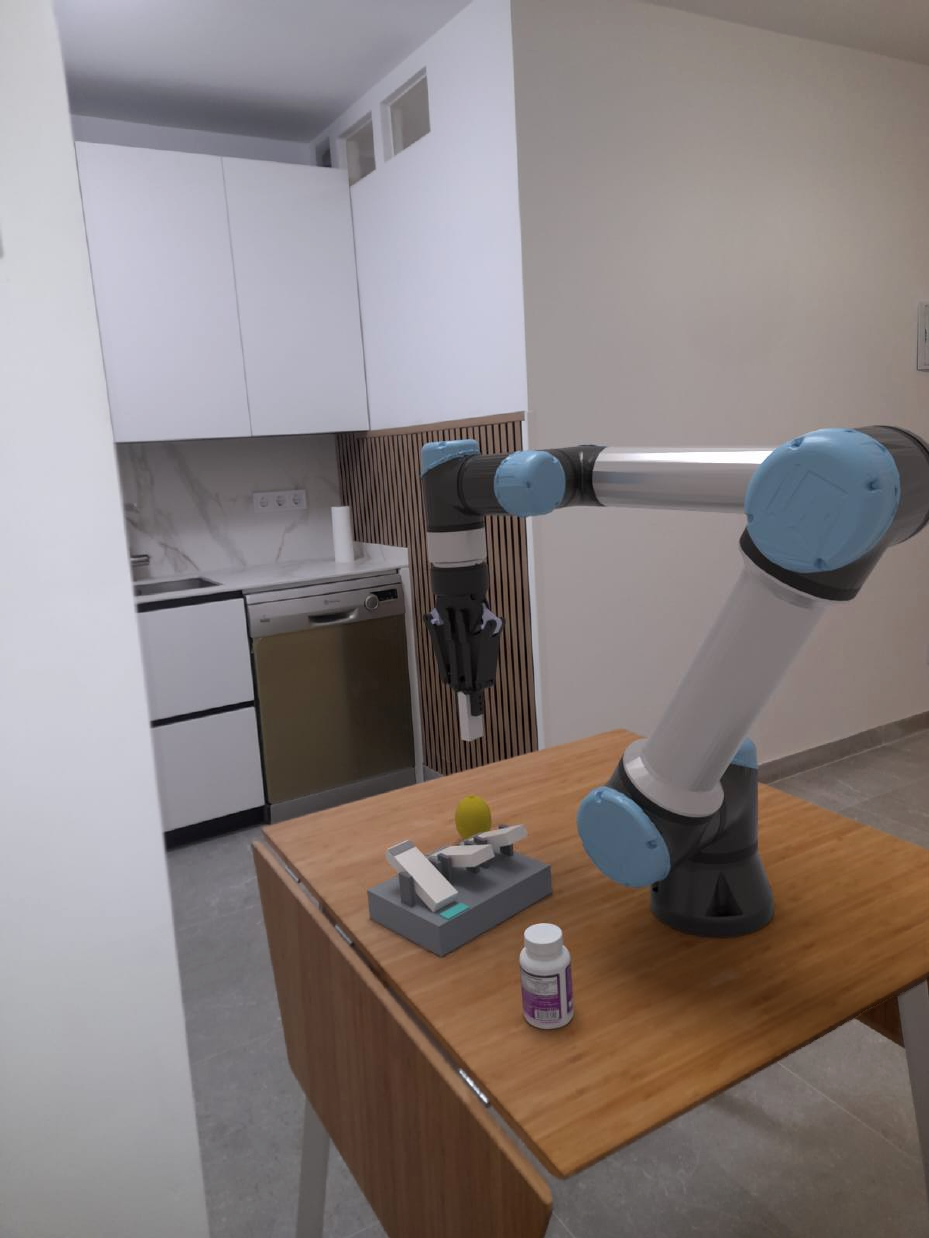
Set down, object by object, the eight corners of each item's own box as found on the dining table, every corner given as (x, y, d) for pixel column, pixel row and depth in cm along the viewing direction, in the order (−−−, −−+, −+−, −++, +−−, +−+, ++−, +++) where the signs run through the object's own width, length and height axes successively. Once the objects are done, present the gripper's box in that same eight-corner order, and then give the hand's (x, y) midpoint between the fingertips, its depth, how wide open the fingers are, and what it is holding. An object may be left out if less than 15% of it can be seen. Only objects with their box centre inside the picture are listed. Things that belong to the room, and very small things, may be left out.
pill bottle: (546, 993, 100) (541, 913, 98) (584, 1013, 96) (579, 930, 94) (512, 1016, 96) (506, 934, 94) (550, 1038, 92) (545, 952, 91)
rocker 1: (456, 900, 113) (459, 890, 113) (432, 912, 111) (435, 903, 110) (407, 847, 119) (410, 838, 118) (383, 858, 116) (386, 848, 116)
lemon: (489, 852, 135) (486, 801, 133) (453, 851, 136) (449, 801, 135) (496, 836, 140) (492, 787, 139) (460, 835, 141) (457, 787, 140)
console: (552, 892, 122) (548, 837, 120) (441, 956, 108) (436, 895, 107) (479, 862, 132) (475, 811, 130) (369, 918, 119) (364, 861, 117)
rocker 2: (495, 855, 116) (492, 843, 116) (473, 867, 114) (469, 854, 114) (447, 857, 124) (444, 845, 124) (425, 868, 121) (422, 855, 121)
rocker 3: (529, 834, 121) (524, 822, 121) (508, 845, 118) (504, 832, 118) (483, 844, 128) (479, 832, 128) (462, 854, 125) (458, 842, 126)
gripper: (515, 559, 115) (528, 737, 119) (442, 557, 124) (456, 722, 128) (475, 568, 110) (490, 754, 114) (402, 565, 119) (418, 737, 123)
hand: (472, 737), depth 121 cm, fingers closed
